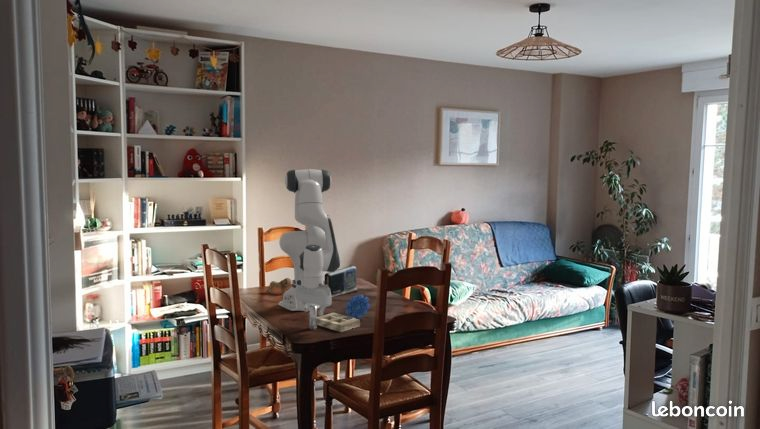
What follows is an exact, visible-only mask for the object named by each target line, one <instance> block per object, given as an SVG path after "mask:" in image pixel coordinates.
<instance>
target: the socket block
mask: <svg viewBox="0 0 760 429" xmlns="http://www.w3.org/2000/svg"><path fill="white" fill-rule="evenodd" d="M317 326H320V327H322V328H325V329H329V330H333V331H336V332H338V333H339V332H340V333H343V332H345V331H349V330H352V328H353V329H355V328H358V327H361V319H356V318H355V317H354V318H352V317H349V315H344V314H340V313H336V312H331V313H328V314H323V315H319V316H317Z"/></svg>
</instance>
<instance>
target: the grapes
mask: <svg viewBox="0 0 760 429" xmlns="http://www.w3.org/2000/svg"><path fill="white" fill-rule="evenodd" d="M345 307H346V308H345V314H346V315H348V317H352V318H355V319H359V320H361V318H362V316H366V315H367V314H368V309H369V308H370V307H371V304H370V302H369V297H368V296H364V295H363V294H360V293H359V294H358V295H357V296H356V295H353V296H351V297H350V300H349V301H347V302H346V303H345Z"/></svg>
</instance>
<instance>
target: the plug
mask: <svg viewBox="0 0 760 429" xmlns="http://www.w3.org/2000/svg"><path fill="white" fill-rule="evenodd" d="M317 317H318V309H317V306H316V305H311V306H310V310H309V329H310V330H317V328H318V325H317Z"/></svg>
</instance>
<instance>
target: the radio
mask: <svg viewBox="0 0 760 429" xmlns="http://www.w3.org/2000/svg"><path fill="white" fill-rule="evenodd" d="M323 279H324V283H323V284H324V285H328V287H329V288H330V291H331V297H332V298H335V297H339V296H340V297H341V296H344V295H346V294H351V293H355V292H358V291H359V290H358V288H357V283H358V280H357V267H356V266H354V265H353V264H349V265H348V266H345V267H343V268H338V269H337V270H336V271H334V272H326V273H325V274H324V275H323ZM328 287H327V288H328Z"/></svg>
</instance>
